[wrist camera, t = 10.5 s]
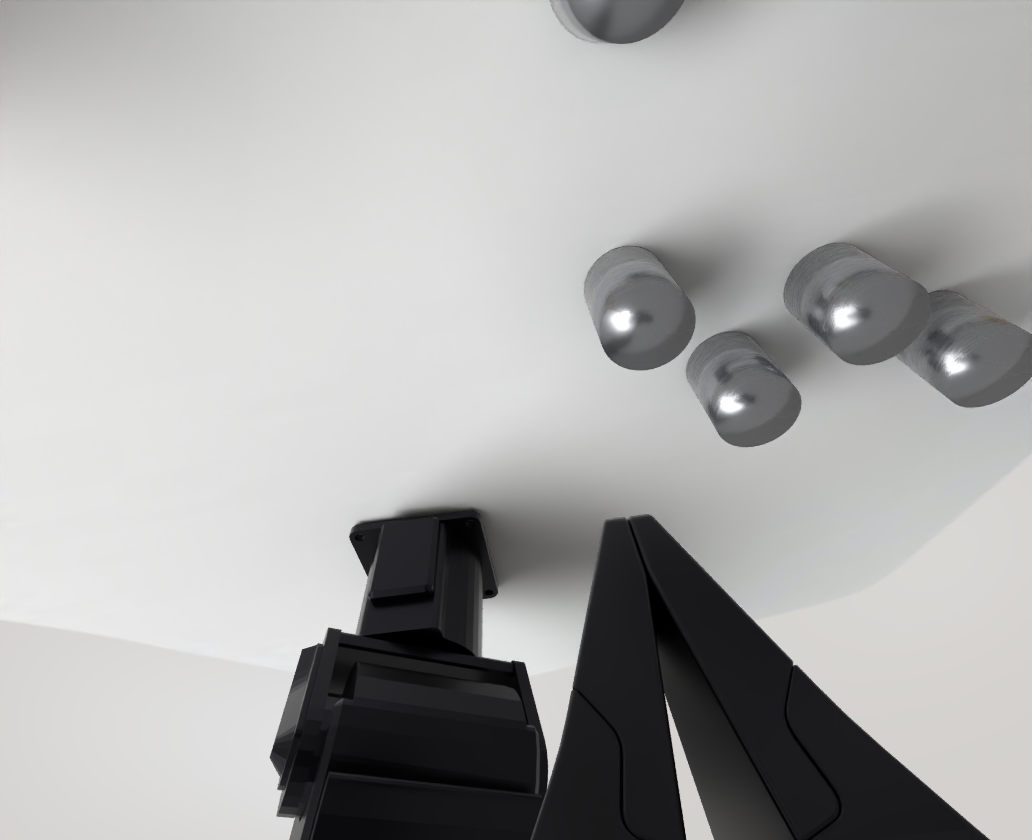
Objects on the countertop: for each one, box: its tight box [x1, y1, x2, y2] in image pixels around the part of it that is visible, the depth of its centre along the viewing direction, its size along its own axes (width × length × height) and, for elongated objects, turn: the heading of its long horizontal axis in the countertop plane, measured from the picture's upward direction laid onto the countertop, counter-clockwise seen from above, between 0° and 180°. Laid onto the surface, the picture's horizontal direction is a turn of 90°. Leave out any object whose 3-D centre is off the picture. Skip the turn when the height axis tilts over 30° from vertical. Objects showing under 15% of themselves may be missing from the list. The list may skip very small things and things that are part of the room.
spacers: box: [550, 0, 1032, 447], centre depth 16 cm, size 19×16×4 cm
